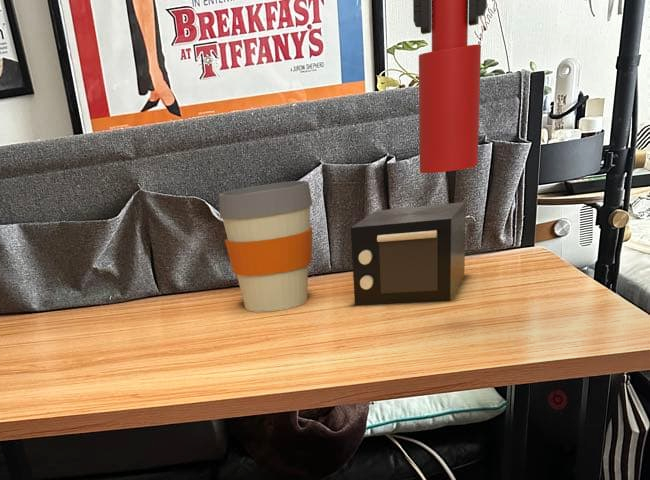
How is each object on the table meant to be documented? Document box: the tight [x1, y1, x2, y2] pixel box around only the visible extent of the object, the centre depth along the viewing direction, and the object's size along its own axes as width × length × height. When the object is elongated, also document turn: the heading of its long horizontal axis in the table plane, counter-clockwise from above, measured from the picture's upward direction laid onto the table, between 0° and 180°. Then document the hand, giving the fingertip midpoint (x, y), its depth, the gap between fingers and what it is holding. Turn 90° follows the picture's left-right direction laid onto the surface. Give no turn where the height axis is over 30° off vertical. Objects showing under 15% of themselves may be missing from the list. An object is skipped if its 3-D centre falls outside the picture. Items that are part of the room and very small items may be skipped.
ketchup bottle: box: [418, 0, 482, 174], centre depth 68 cm, size 6×6×16 cm
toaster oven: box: [350, 201, 467, 307], centre depth 94 cm, size 12×15×10 cm
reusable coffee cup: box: [218, 180, 313, 313], centre depth 99 cm, size 13×13×15 cm
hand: (449, 27), depth 66 cm, fingers closed on ketchup bottle, 3 cm apart
